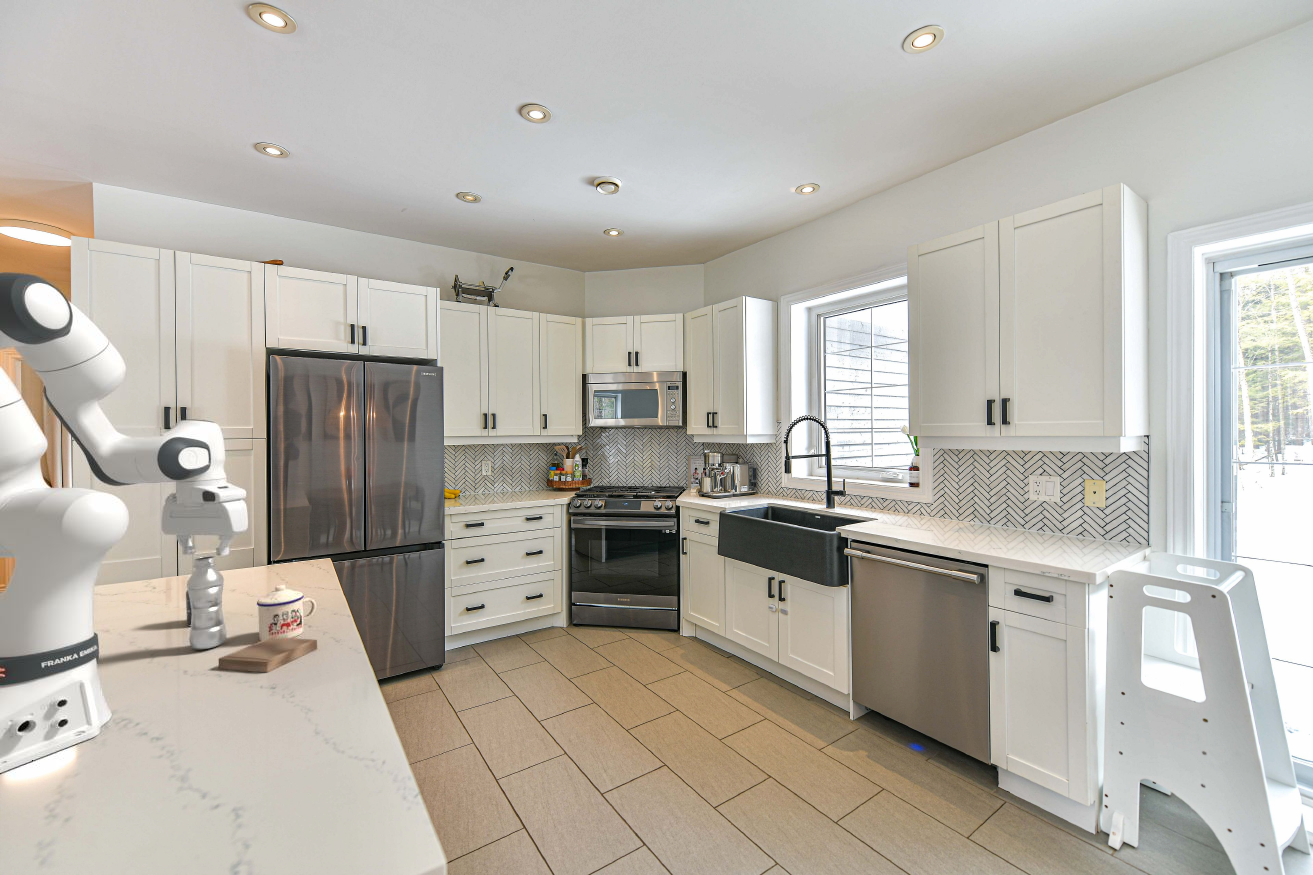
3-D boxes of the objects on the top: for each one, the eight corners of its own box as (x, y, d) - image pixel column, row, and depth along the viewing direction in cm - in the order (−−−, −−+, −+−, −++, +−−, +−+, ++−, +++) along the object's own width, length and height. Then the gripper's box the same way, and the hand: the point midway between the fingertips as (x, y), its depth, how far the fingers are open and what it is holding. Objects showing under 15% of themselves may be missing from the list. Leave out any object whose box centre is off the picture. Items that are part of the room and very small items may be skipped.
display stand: (267, 672, 110) (267, 661, 110) (218, 668, 113) (218, 657, 113) (317, 648, 122) (316, 639, 122) (272, 645, 125) (271, 636, 125)
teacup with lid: (267, 645, 125) (265, 593, 125) (251, 637, 130) (249, 587, 130) (324, 629, 135) (323, 581, 134) (308, 622, 140) (306, 576, 140)
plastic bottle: (234, 641, 128) (231, 554, 128) (208, 653, 121) (204, 561, 121) (208, 641, 129) (205, 554, 128) (181, 653, 122) (177, 561, 122)
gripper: (150, 494, 124) (154, 557, 124) (224, 494, 119) (228, 559, 120) (180, 491, 130) (184, 550, 130) (252, 490, 125) (255, 552, 126)
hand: (205, 554), depth 125 cm, fingers open, 8 cm apart
